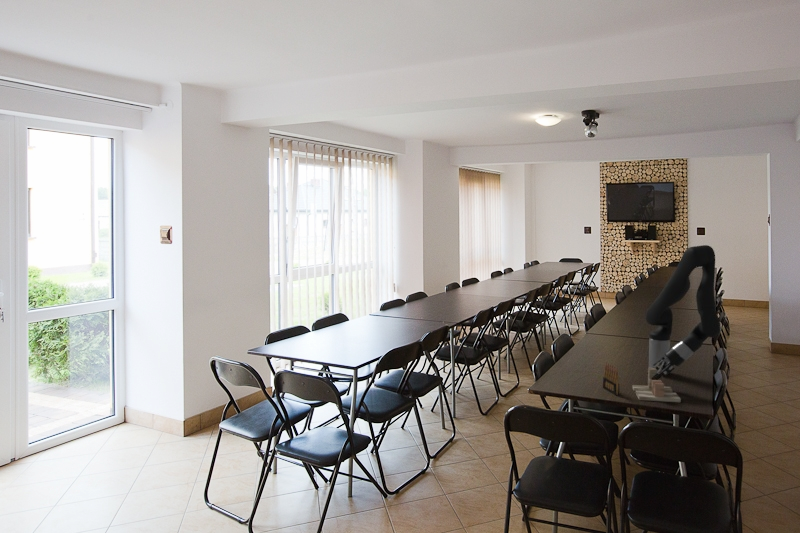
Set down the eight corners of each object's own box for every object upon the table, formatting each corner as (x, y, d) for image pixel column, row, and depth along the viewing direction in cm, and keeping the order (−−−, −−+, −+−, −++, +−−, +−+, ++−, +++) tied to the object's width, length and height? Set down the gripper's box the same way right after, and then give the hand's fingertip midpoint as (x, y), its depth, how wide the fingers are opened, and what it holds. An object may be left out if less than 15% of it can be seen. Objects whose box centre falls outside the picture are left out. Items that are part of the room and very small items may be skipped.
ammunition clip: (619, 395, 239) (620, 368, 238) (615, 395, 239) (616, 368, 238) (606, 387, 250) (607, 361, 249) (602, 387, 249) (603, 362, 248)
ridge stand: (635, 394, 240) (636, 378, 239) (675, 396, 236) (675, 380, 236) (639, 400, 232) (639, 383, 232) (680, 402, 229) (680, 385, 228)
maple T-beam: (632, 388, 249) (632, 366, 248) (670, 390, 245) (670, 368, 244) (633, 391, 245) (634, 369, 244) (672, 393, 241) (673, 370, 240)
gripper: (668, 343, 248) (641, 367, 252) (677, 351, 234) (647, 376, 238) (681, 355, 247) (653, 379, 251) (690, 363, 234) (660, 388, 237)
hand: (650, 377), depth 245 cm, fingers open, 8 cm apart
